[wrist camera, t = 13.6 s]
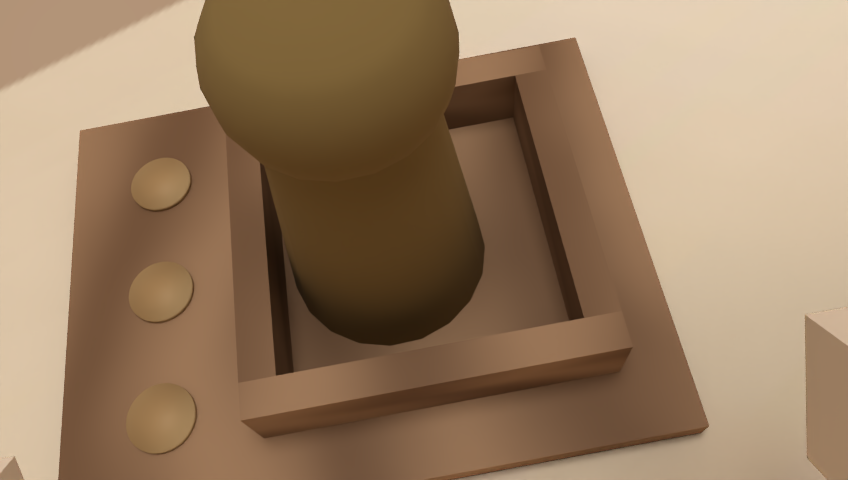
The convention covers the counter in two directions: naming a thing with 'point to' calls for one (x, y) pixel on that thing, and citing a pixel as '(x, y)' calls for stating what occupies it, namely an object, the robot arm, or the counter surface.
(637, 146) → the counter surface
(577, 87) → the walnut holder
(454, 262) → the cork
